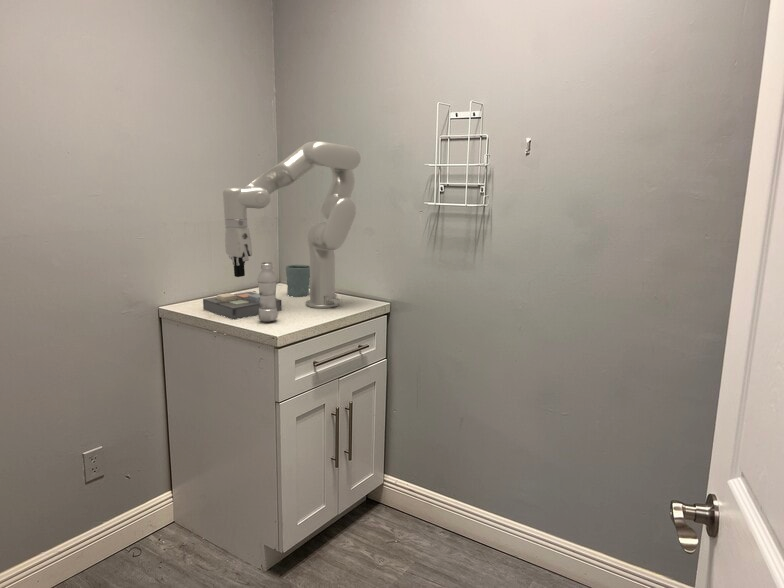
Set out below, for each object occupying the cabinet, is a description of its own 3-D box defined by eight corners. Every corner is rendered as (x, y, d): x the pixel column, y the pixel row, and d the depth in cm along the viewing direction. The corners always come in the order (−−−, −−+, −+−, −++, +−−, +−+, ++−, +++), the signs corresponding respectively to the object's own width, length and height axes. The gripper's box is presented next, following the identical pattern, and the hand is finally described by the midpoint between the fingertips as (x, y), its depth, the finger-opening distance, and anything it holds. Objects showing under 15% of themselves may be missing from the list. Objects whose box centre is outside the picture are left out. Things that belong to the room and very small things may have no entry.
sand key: (236, 302, 212) (236, 295, 211) (224, 304, 208) (224, 297, 208) (229, 299, 215) (228, 293, 215) (216, 301, 212) (216, 295, 211)
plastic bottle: (254, 321, 196) (252, 263, 192) (268, 318, 202) (267, 261, 198) (267, 324, 193) (266, 265, 189) (282, 320, 198) (281, 262, 194)
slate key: (267, 302, 212) (267, 295, 212) (256, 304, 209) (256, 297, 208) (259, 300, 216) (259, 293, 215) (248, 302, 212) (248, 295, 212)
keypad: (281, 310, 213) (281, 299, 212) (233, 319, 199) (233, 308, 198) (250, 301, 226) (250, 291, 226) (203, 309, 212) (203, 298, 211)
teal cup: (281, 295, 240) (280, 266, 238) (299, 291, 248) (298, 263, 246) (298, 298, 234) (297, 269, 232) (316, 294, 242) (315, 266, 240)
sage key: (249, 308, 207) (248, 302, 206) (236, 311, 203) (236, 304, 203) (241, 306, 210) (241, 299, 210) (229, 308, 207) (228, 301, 206)
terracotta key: (255, 302, 218) (255, 295, 217) (243, 304, 214) (243, 297, 214) (247, 299, 221) (247, 293, 221) (236, 301, 218) (236, 295, 217)
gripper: (258, 224, 198) (261, 277, 202) (233, 221, 208) (237, 272, 212) (238, 226, 193) (242, 280, 197) (215, 223, 203) (218, 275, 207)
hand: (239, 276), depth 205 cm, fingers closed
